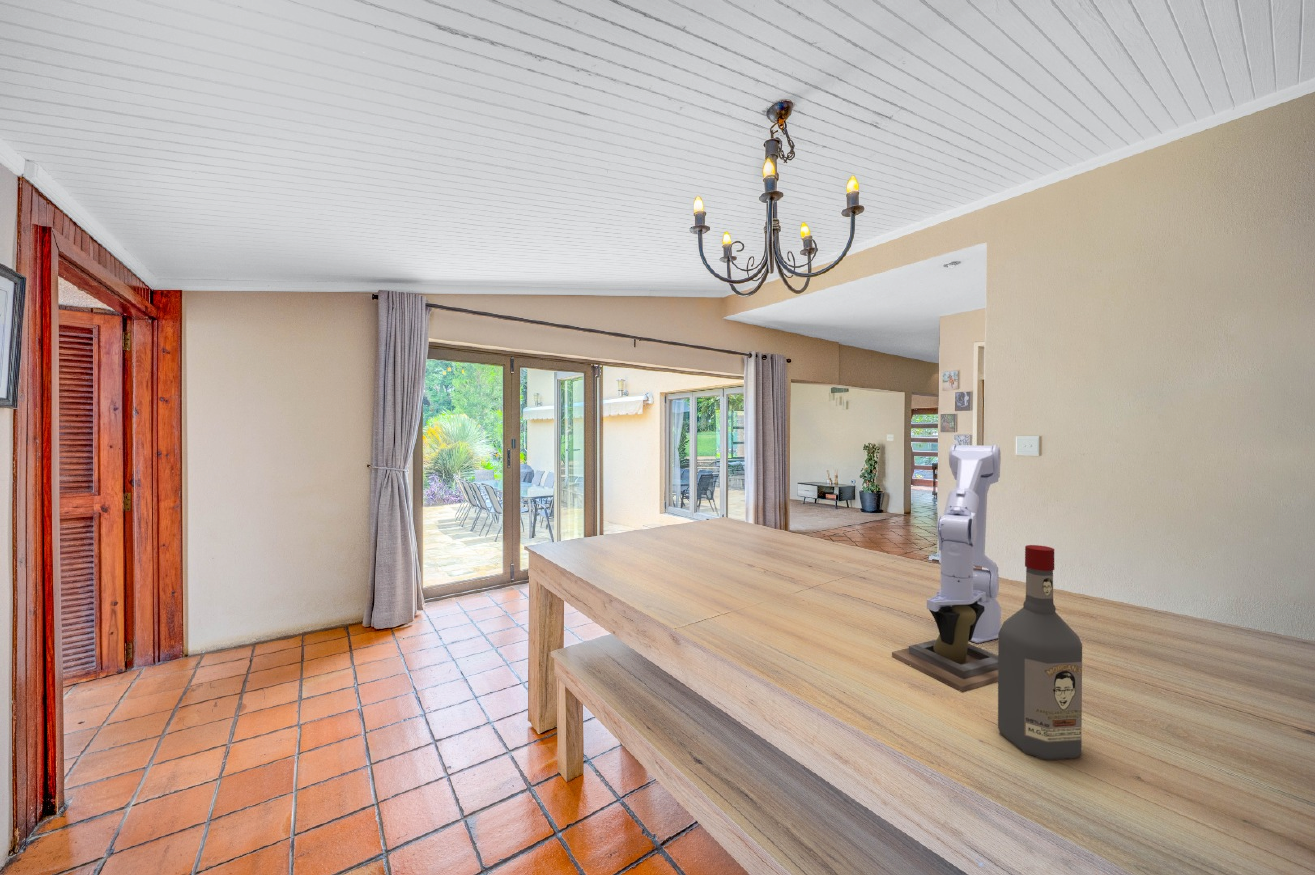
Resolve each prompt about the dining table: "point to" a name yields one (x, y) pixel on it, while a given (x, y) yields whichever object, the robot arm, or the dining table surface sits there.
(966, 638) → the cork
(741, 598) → the dining table surface
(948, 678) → the socket board
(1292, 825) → the dining table surface
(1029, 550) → the liquor
